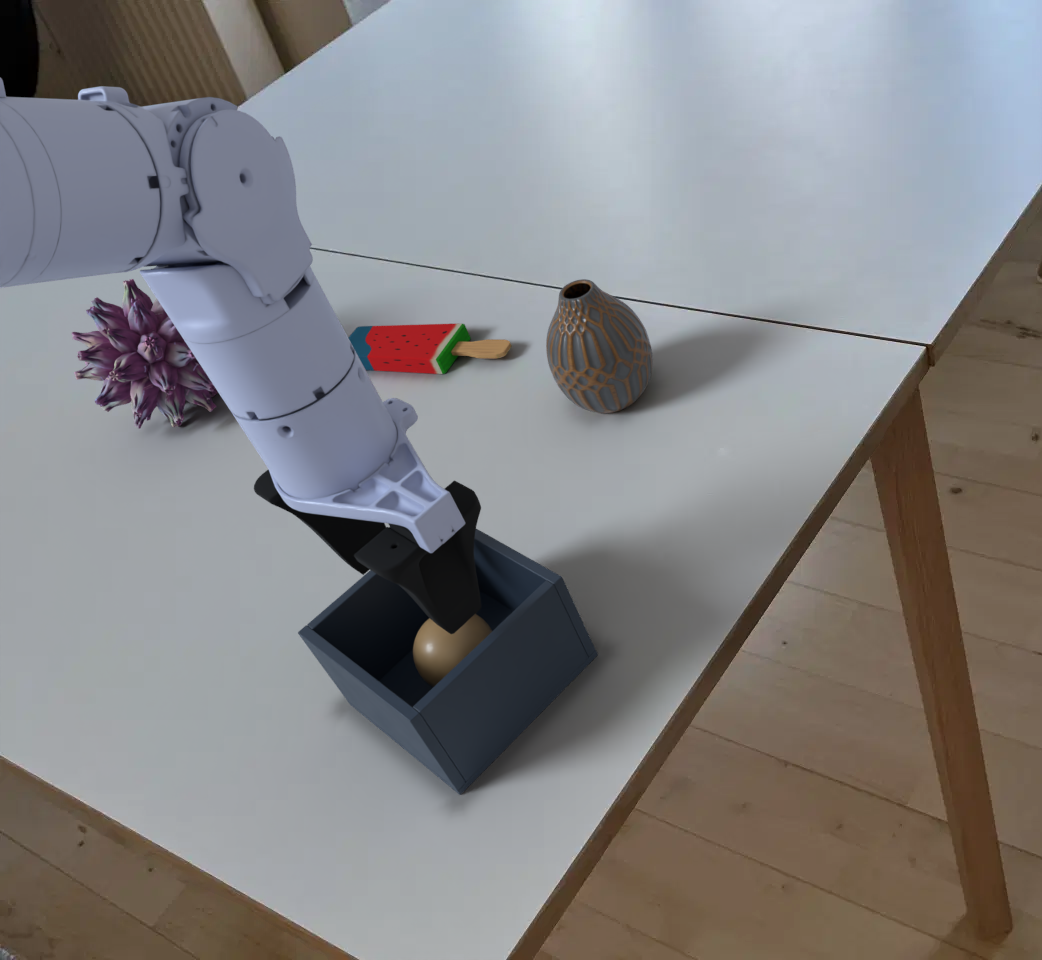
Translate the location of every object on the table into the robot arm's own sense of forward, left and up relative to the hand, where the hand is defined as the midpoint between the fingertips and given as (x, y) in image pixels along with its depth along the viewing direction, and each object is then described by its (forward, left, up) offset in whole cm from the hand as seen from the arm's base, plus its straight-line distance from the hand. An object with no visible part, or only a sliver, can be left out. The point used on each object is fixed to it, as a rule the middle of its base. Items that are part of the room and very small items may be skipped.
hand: (416, 588), depth 55 cm
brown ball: (0, 0, -7) cm, 7 cm away
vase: (+22, +10, -8) cm, 25 cm away
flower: (+5, +43, -8) cm, 44 cm away
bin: (0, 0, -8) cm, 8 cm away
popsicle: (+19, +28, -8) cm, 35 cm away
